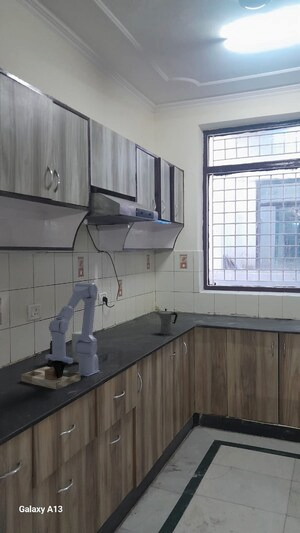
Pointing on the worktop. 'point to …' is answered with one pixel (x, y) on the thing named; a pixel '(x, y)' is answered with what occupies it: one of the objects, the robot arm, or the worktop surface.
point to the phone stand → (50, 353)
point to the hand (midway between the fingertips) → (59, 377)
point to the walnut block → (50, 374)
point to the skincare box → (74, 340)
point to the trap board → (39, 379)
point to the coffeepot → (166, 321)
